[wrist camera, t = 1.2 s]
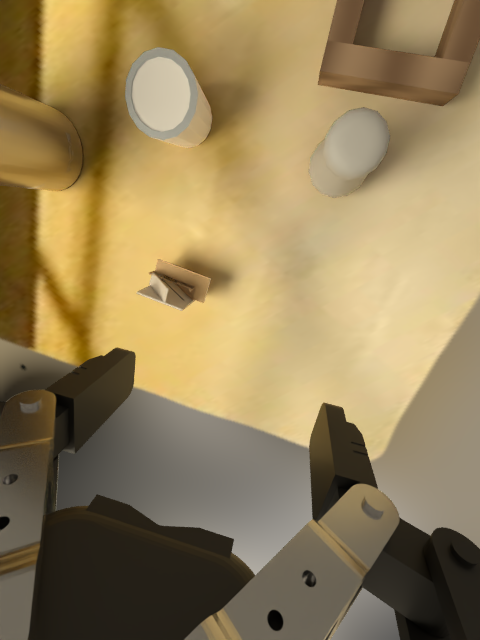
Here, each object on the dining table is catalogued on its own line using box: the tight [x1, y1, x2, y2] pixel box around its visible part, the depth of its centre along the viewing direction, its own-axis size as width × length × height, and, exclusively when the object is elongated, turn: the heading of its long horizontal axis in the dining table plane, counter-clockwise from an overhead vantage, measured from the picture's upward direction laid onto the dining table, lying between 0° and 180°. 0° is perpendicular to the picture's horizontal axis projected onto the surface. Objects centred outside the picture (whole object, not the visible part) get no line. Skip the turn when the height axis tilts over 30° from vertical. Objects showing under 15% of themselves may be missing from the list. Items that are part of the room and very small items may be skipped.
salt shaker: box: [309, 107, 390, 198], centre depth 26 cm, size 6×6×13 cm
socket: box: [318, 0, 480, 106], centre depth 25 cm, size 12×12×3 cm
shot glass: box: [125, 47, 212, 148], centre depth 29 cm, size 7×7×7 cm
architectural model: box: [137, 259, 211, 311], centre depth 36 cm, size 3×7×7 cm, turn 71°
